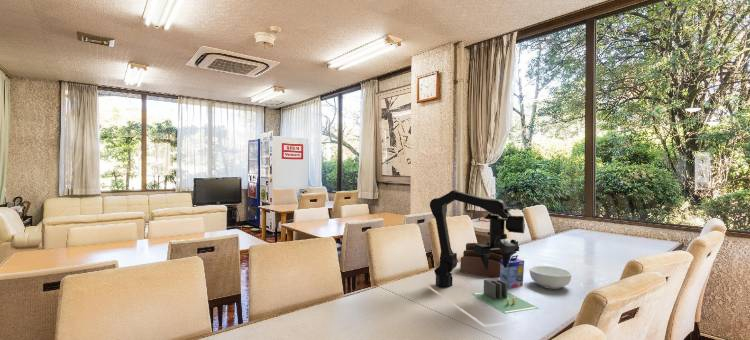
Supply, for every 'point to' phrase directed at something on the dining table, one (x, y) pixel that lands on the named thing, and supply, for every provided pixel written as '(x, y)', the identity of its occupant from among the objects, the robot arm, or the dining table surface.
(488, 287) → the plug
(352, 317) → the dining table surface
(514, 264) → the ink cartridge box
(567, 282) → the cereal bowl
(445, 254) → the robot arm
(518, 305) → the board
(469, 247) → the letter holder
